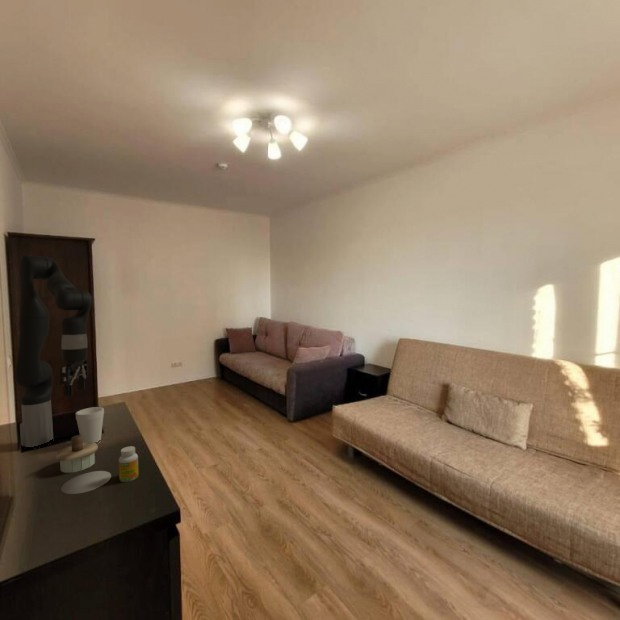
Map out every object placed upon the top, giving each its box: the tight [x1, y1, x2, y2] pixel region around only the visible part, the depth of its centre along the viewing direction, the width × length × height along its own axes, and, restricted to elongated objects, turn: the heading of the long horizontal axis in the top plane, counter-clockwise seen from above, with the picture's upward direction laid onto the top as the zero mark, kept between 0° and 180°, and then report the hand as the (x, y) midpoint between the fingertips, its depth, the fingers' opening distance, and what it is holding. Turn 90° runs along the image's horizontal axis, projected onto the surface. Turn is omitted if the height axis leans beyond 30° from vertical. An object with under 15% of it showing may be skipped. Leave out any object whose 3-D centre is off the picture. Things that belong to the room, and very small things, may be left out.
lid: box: [56, 434, 99, 461], centre depth 116 cm, size 12×12×6 cm
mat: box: [60, 470, 112, 495], centre depth 105 cm, size 13×13×1 cm
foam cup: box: [75, 406, 105, 443], centre depth 136 cm, size 10×9×13 cm
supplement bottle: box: [118, 445, 140, 483], centre depth 107 cm, size 5×5×10 cm
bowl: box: [59, 452, 96, 474], centre depth 116 cm, size 10×10×5 cm
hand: (75, 392), depth 119 cm, fingers open, 8 cm apart
